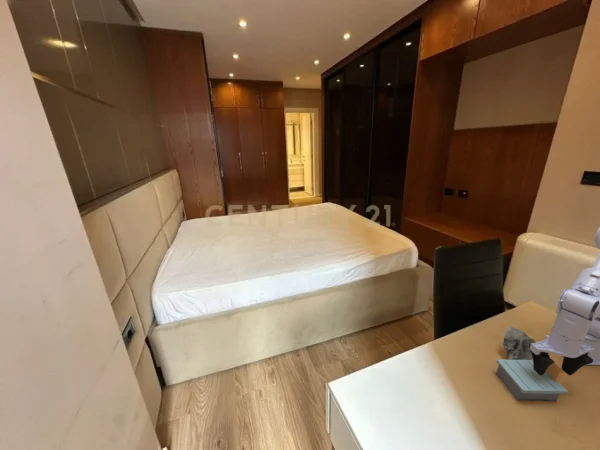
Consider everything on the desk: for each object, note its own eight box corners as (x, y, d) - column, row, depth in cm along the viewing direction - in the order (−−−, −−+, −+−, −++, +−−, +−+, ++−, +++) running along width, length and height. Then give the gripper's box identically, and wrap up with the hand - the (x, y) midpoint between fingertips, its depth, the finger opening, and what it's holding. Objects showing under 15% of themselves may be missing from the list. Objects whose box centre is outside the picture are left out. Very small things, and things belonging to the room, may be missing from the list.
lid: (537, 362, 72) (541, 351, 71) (569, 394, 63) (575, 381, 62) (496, 361, 73) (499, 350, 72) (522, 393, 64) (526, 380, 62)
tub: (530, 374, 73) (534, 364, 72) (556, 401, 65) (560, 390, 64) (496, 373, 73) (499, 363, 72) (517, 400, 66) (521, 389, 65)
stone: (540, 341, 72) (512, 318, 81) (508, 358, 74) (485, 333, 84) (553, 359, 74) (524, 334, 84) (522, 375, 77) (497, 349, 86)
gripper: (580, 321, 66) (564, 360, 71) (526, 322, 67) (513, 359, 71) (611, 342, 60) (591, 382, 64) (550, 342, 60) (534, 382, 65)
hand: (552, 372), depth 67 cm, fingers open, 7 cm apart
